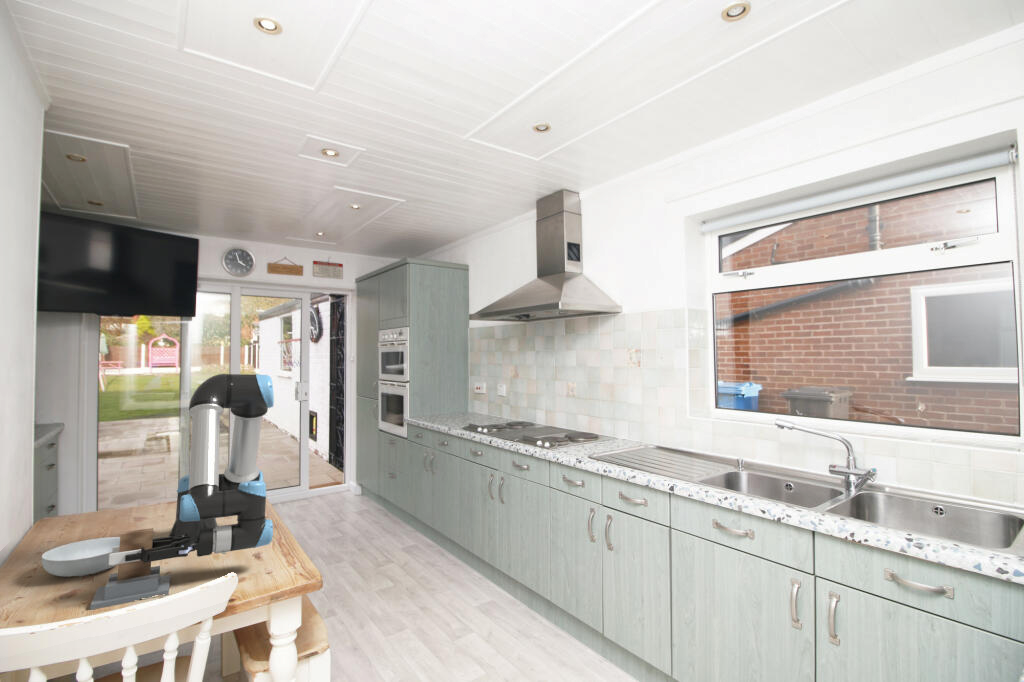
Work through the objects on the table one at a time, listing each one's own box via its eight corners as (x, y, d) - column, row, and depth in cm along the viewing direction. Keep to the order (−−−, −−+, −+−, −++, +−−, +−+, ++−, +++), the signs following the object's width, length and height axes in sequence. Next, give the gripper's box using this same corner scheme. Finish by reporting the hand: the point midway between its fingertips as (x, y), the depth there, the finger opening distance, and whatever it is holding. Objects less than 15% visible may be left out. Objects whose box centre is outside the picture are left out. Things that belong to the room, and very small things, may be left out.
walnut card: (149, 583, 134) (153, 528, 135) (149, 586, 132) (152, 530, 133) (117, 589, 130) (121, 532, 131) (116, 593, 128) (120, 534, 129)
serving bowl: (148, 557, 156) (149, 535, 156) (94, 585, 135) (96, 560, 135) (81, 558, 155) (83, 535, 156) (17, 586, 134) (19, 560, 135)
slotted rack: (170, 578, 140) (171, 562, 140) (168, 594, 130) (169, 576, 130) (97, 591, 131) (99, 574, 131) (90, 609, 121) (91, 590, 121)
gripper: (213, 564, 133) (104, 583, 120) (211, 544, 148) (114, 559, 136) (215, 536, 134) (106, 552, 121) (213, 519, 149) (116, 532, 136)
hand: (111, 555), depth 128 cm, fingers open, 5 cm apart
